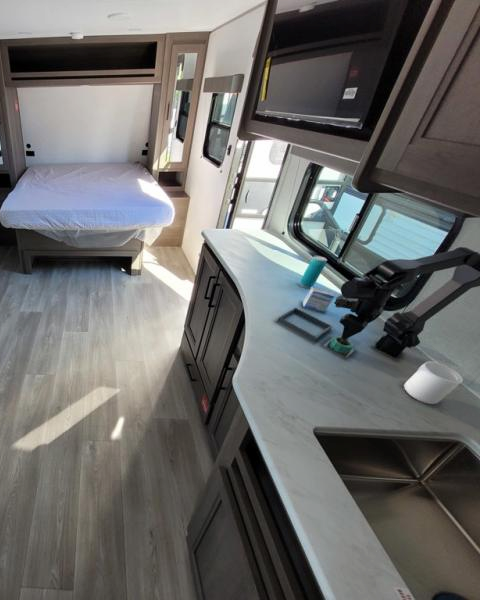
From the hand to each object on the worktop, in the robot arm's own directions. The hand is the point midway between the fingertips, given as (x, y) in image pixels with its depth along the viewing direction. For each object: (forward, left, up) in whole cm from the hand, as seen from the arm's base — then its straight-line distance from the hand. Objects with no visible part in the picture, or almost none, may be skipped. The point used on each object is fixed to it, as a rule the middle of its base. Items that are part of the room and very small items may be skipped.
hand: (348, 334), depth 109 cm
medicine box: (+18, -20, -7) cm, 27 cm away
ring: (0, 0, -6) cm, 6 cm away
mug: (-22, -1, -7) cm, 24 cm away
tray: (+14, -2, -7) cm, 15 cm away
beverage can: (+29, -37, -7) cm, 47 cm away
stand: (0, 0, -7) cm, 7 cm away
